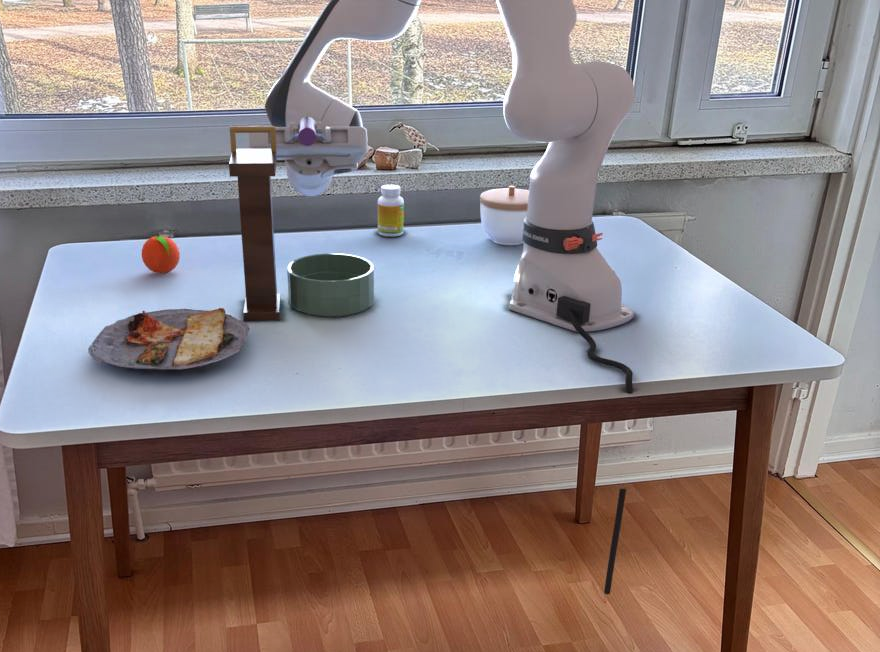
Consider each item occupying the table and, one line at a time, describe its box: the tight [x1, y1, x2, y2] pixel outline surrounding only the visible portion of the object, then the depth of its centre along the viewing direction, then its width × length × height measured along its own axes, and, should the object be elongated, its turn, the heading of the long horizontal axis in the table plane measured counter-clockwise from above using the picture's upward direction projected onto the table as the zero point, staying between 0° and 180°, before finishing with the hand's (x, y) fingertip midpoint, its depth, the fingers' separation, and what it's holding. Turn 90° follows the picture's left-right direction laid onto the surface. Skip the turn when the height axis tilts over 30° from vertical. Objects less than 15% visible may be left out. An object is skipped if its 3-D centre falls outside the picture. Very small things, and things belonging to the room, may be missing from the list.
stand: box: [228, 125, 282, 322], centre depth 163 cm, size 10×7×30 cm
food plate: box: [87, 307, 251, 372], centre depth 156 cm, size 25×23×4 cm
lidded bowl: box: [479, 185, 529, 246], centre depth 204 cm, size 13×13×11 cm
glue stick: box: [298, 117, 316, 146], centre depth 163 cm, size 12×3×3 cm, turn 4°
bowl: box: [286, 252, 375, 318], centre depth 173 cm, size 15×15×6 cm
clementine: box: [141, 234, 180, 275], centre depth 185 cm, size 8×7×7 cm
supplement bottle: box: [377, 184, 405, 238], centre depth 208 cm, size 5×5×10 cm
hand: (307, 127), depth 164 cm, fingers closed on glue stick, 3 cm apart
